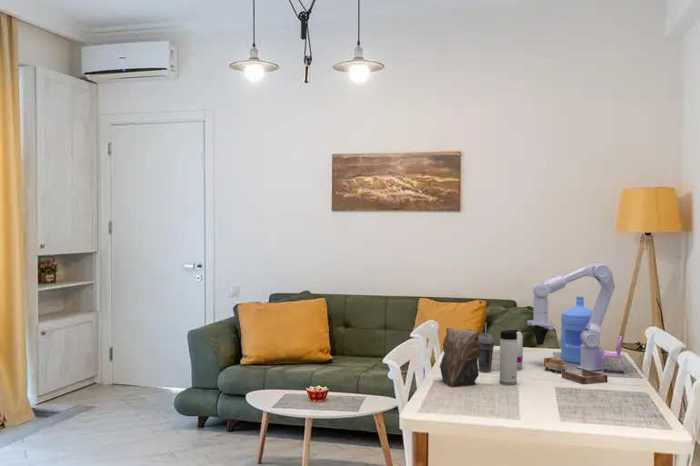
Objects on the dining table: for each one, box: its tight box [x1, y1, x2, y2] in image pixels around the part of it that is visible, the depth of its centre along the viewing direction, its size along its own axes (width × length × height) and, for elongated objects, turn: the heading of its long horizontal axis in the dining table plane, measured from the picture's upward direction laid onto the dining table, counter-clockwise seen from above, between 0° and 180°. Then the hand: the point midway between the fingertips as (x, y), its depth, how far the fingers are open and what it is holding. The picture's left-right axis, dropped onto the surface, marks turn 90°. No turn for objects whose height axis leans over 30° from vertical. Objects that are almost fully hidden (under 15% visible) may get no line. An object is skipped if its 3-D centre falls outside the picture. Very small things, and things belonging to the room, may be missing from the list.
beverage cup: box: [477, 321, 496, 373], centre depth 277 cm, size 7×7×20 cm
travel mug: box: [499, 329, 519, 386], centre depth 256 cm, size 6×7×20 cm
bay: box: [561, 369, 608, 385], centre depth 264 cm, size 11×12×2 cm
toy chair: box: [601, 335, 626, 375], centre depth 278 cm, size 8×9×15 cm
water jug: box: [560, 296, 593, 365], centre depth 302 cm, size 16×16×28 cm
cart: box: [543, 356, 568, 374], centre depth 279 cm, size 5×8×5 cm, turn 23°
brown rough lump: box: [439, 327, 480, 388], centre depth 256 cm, size 13×13×20 cm
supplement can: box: [517, 331, 524, 371], centre depth 284 cm, size 8×8×15 cm
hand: (540, 344), depth 288 cm, fingers closed
